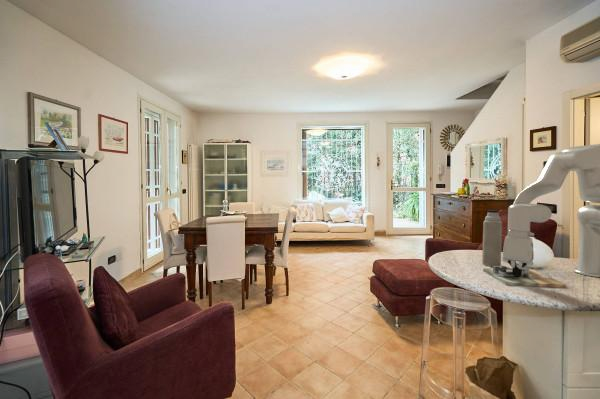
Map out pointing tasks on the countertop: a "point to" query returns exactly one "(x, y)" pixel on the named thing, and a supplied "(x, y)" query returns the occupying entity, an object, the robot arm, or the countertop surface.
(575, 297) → the countertop surface
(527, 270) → the arm
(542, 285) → the lock board
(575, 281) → the countertop surface
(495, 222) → the thermos bottle
